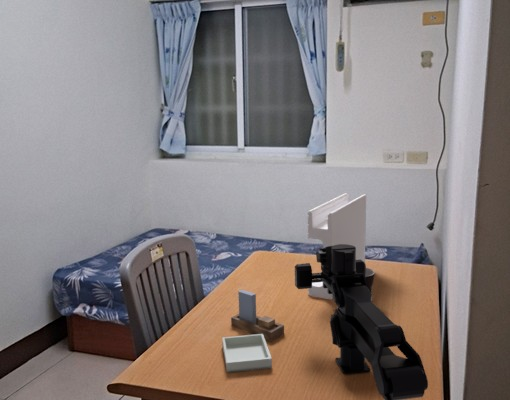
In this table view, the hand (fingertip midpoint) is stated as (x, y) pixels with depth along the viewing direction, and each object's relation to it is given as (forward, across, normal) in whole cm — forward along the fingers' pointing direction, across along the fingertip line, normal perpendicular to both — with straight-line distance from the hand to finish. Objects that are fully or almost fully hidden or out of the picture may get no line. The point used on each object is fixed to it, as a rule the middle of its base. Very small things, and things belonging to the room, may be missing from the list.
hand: (321, 264), depth 132 cm
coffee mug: (+9, -14, +17) cm, 24 cm away
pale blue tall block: (0, +21, +17) cm, 27 cm away
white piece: (+30, -15, +17) cm, 37 cm away
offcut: (-5, +17, +15) cm, 23 cm away
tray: (-16, +24, +17) cm, 33 cm away
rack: (-2, +19, +17) cm, 25 cm away
